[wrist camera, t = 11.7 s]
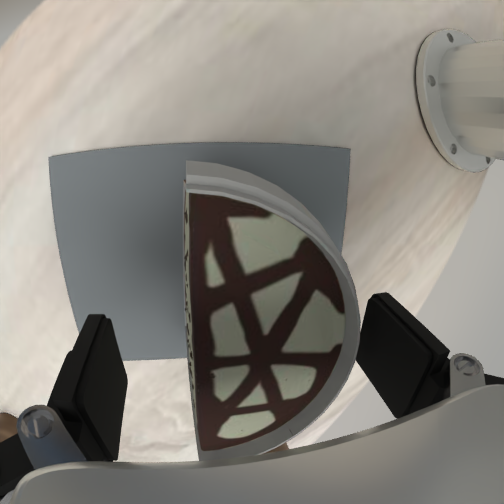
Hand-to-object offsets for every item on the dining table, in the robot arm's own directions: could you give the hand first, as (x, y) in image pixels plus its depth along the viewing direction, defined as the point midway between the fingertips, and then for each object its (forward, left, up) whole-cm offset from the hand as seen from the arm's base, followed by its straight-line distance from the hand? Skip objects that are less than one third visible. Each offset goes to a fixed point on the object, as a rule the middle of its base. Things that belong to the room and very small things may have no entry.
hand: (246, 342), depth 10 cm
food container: (-1, 0, -9) cm, 9 cm away
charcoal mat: (+1, 0, -9) cm, 9 cm away
